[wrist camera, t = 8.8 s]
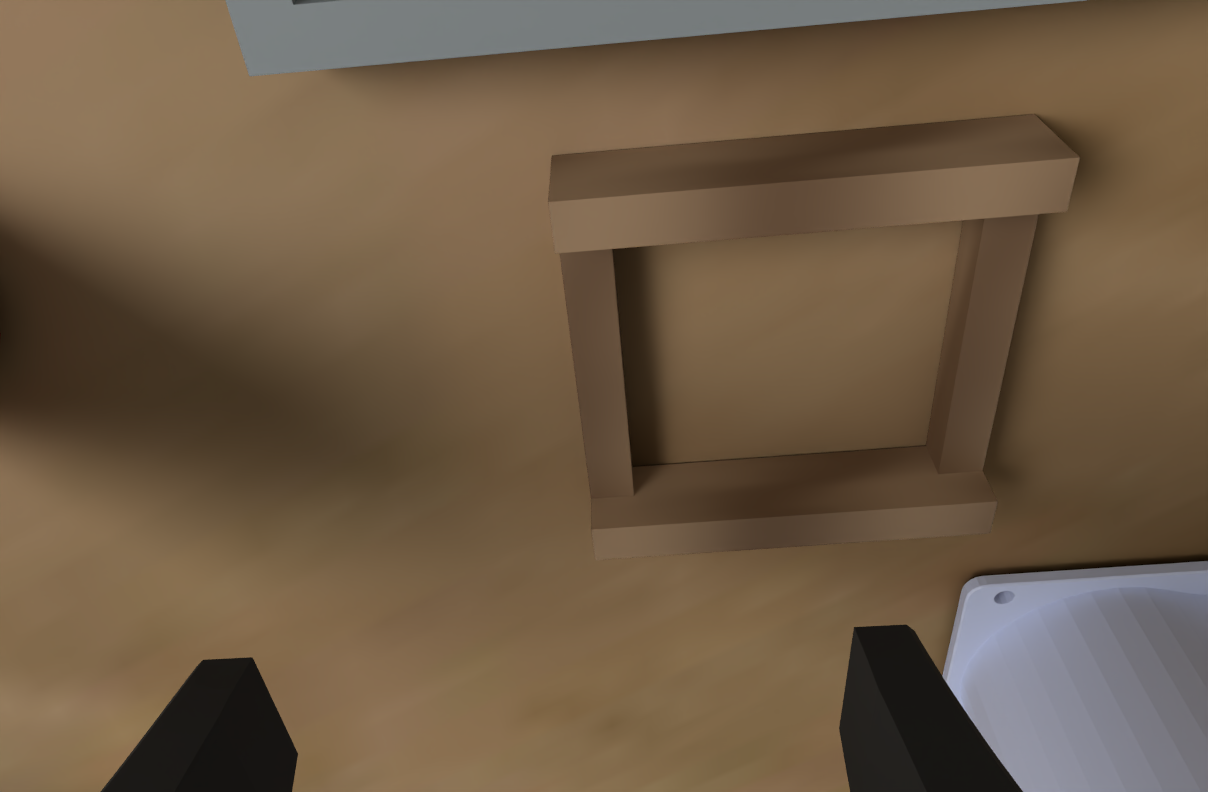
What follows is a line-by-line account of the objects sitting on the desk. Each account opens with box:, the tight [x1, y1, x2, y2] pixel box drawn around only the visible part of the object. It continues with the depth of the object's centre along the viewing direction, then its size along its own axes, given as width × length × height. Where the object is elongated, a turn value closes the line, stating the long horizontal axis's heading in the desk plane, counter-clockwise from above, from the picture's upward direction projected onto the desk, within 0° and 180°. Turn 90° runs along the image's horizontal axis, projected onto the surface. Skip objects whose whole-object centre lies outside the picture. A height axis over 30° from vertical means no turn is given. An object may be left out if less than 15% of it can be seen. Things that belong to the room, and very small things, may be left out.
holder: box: [548, 114, 1080, 560], centre depth 19 cm, size 9×9×2 cm
